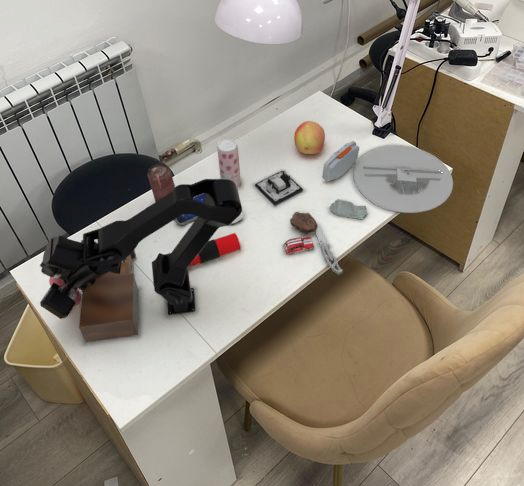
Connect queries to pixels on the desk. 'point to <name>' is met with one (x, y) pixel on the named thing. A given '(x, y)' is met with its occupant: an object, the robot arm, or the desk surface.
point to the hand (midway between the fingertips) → (59, 286)
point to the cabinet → (110, 308)
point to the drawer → (124, 267)
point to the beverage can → (229, 160)
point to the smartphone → (189, 217)
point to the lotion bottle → (59, 282)
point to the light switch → (278, 187)
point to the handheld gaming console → (340, 161)
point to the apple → (309, 137)
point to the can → (160, 181)
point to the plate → (403, 179)
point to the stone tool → (348, 209)
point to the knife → (327, 251)
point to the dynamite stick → (217, 249)
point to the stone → (303, 222)
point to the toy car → (298, 245)
